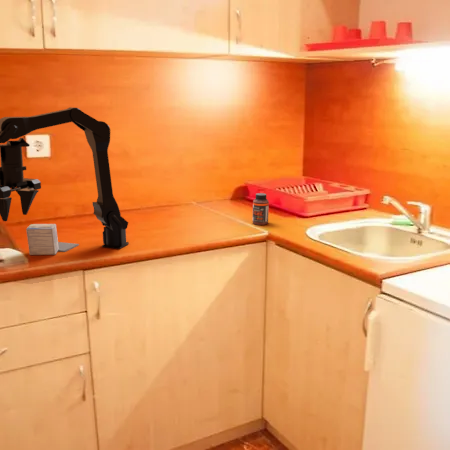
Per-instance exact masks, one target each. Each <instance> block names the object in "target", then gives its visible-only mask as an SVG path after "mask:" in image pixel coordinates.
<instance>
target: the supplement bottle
mask: <svg viewBox="0 0 450 450" xmlns="http://www.w3.org/2000/svg"><path fill="white" fill-rule="evenodd" d="M269 206H270V205H269V200H268V198H267V193H264V192H263V193H261V192H260V193H259V192H258V193H255V199H253V201H252V224H254V225H258V226H264V225H267V224H268V223H269V210H270V209H269Z"/></svg>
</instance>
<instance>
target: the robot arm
mask: <svg viewBox="0 0 450 450" xmlns="http://www.w3.org/2000/svg"><path fill="white" fill-rule="evenodd" d="M68 123H73V125H75V127H77V128H79V129H81V130H82V131H83V133H84V135H85V138H86V142H87V144H88V145H89V147H90V149H91V153H92V160H93V168H94V175H95V176H94V177H95V181H96V182H95V183H96V189H97V199H96V201H92V207H93V212H92V213H93V215H95V217H96V219H97V220H98V221H100V222H101V225H102V226H104V227H103V231H102V242H103V243H102V244H103V245H101V247H102V248H105V249H106V248H108V249H116V250H117V249H122V248H124V247H126V246H127V245H129V243H130V242H128V241H127V231H126V230H127V229H128V226H129V222H128V221H127V220H126V218H124V217H123V216H121V215H122V214H121V209H120V208H119V205H118V203H117V201H116V199H115V197H114V193H113V185H112V184H113V183H112V176H111V175H112V174H111V167H110V161H109V152H108V150H109V147H110V143H111V128H110V125H109V124H108V123H107V122H105V121H102V120H98V119H96V118H94V117H92V116H91V115H89V114H87V113H85V112H84V111H83V110H81V109H80V108H78V107H72V106H70V107H68V108H65V109H60V110H56V111H51V112H45V113H41V114H36V115H30V116H3V117H1V118H0V217H1V219H2V221H3V222H8V220H9V215H10V209H11V203H12V197H10V196H11V195H12V192H16V193H17V194H18V196H19V198H20V199H19V200H20V205H21V212H22V215H24V216H27V215H28V213H29V210H30V209H31V208H30V207H31V206H32V204H33V201H34V200H35V198H36V196H37V194H38V193H39V190H40V189H42V184H41V183H42V182H41V181H40V180H39V179H38V178H25V177H24V171H27V166H26V165H25V166H24V163H23V148H26V147H30V143H28V141H26V140H25V138H24V136H27V135H28V134H31V133H32V132H34V131H36V130H41V129H46V128H51V127H54V126H59V125H64V124H68ZM17 139H18V140H17Z"/></svg>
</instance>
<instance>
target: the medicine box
mask: <svg viewBox="0 0 450 450" xmlns="http://www.w3.org/2000/svg"><path fill="white" fill-rule="evenodd" d="M25 230H26V238H27V246H28V252H29V255H30V256H41V255H42V256H43V255H44V256H47V255H50V256H51V255H57V253H58V252H59V251H58V250H59V246H58V242H59V239H58V231H57V224H56V223H33V224H32V223H31V224H30V225H29V226H27V228H26V229H25Z"/></svg>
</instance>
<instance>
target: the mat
mask: <svg viewBox="0 0 450 450" xmlns="http://www.w3.org/2000/svg"><path fill="white" fill-rule="evenodd" d="M79 245H80V244H79V243H74V242H73V243H72V242H61V241H58V246H59V250H58V251H57V252H59V253H60V252H61V253H65V252H68V251H70V250H73V249H74V248H76V247H78V246H79Z"/></svg>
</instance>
